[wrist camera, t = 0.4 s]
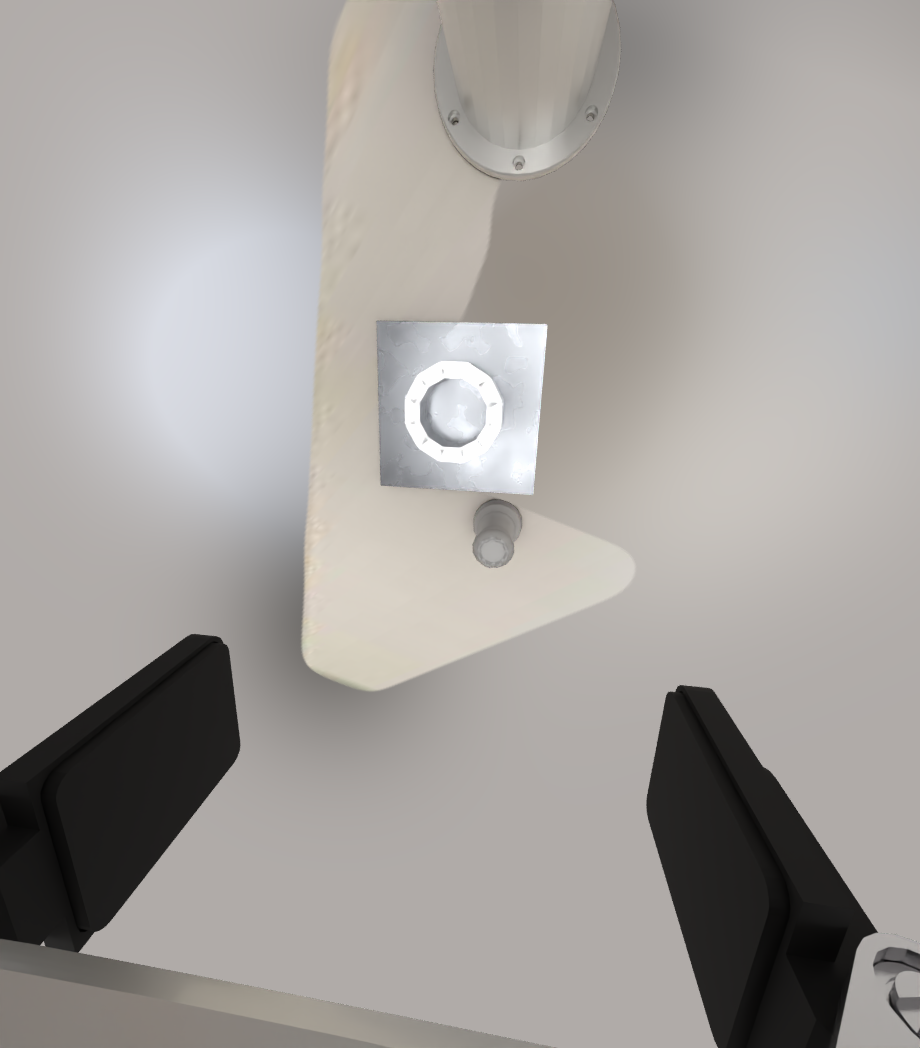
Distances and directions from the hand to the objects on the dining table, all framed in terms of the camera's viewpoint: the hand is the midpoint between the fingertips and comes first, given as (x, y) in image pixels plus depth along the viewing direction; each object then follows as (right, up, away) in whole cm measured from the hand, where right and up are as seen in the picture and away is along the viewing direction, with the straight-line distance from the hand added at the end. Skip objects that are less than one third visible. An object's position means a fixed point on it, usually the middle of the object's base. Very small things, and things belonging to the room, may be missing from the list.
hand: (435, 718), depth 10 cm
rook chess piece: (+4, +4, +33) cm, 33 cm away
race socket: (0, +14, +30) cm, 33 cm away
